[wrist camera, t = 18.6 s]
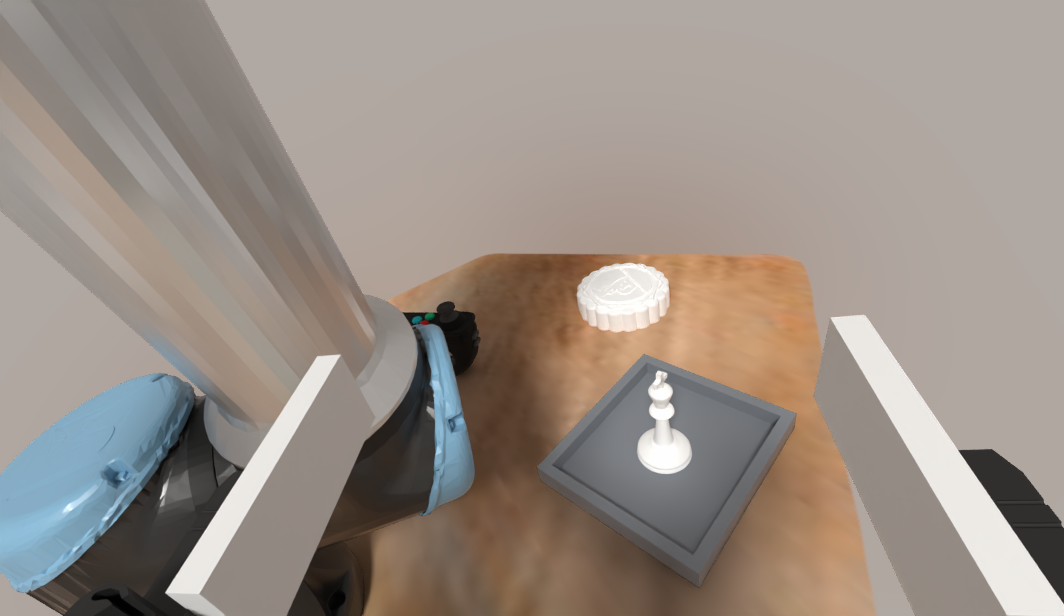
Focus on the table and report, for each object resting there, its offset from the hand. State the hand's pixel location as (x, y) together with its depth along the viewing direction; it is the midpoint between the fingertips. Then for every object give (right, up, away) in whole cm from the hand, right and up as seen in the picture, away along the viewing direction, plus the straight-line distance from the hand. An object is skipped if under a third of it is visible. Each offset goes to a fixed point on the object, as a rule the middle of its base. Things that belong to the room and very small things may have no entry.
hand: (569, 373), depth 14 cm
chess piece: (+11, -12, +33) cm, 37 cm away
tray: (+11, -12, +33) cm, 37 cm away
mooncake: (+11, +2, +53) cm, 55 cm away
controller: (-12, -6, +49) cm, 51 cm away
